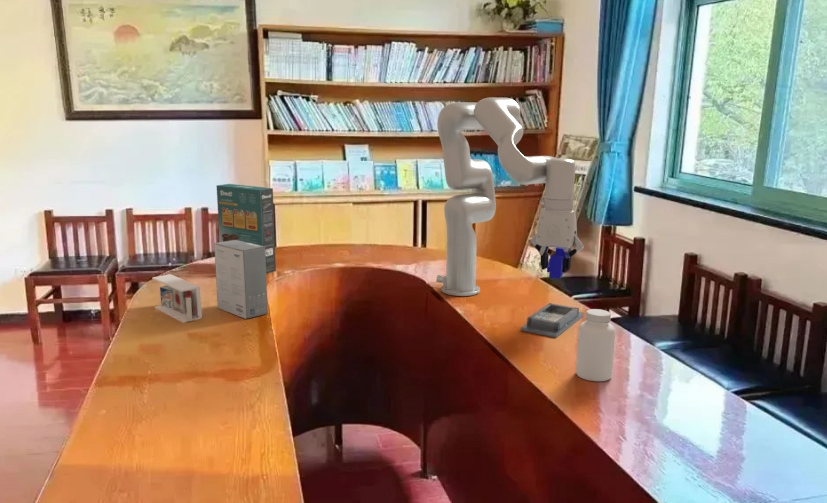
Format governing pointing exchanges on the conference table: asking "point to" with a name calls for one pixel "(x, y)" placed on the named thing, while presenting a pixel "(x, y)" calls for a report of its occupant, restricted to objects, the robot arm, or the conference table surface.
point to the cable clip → (556, 264)
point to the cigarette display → (179, 298)
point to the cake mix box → (247, 217)
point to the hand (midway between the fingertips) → (555, 269)
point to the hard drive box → (241, 278)
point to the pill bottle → (595, 346)
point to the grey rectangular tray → (552, 320)
